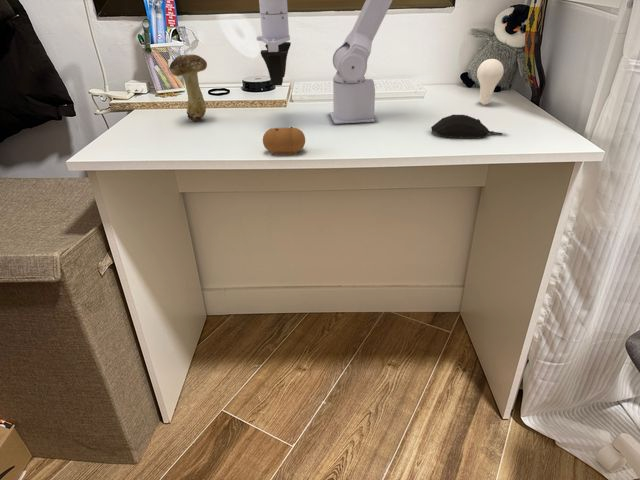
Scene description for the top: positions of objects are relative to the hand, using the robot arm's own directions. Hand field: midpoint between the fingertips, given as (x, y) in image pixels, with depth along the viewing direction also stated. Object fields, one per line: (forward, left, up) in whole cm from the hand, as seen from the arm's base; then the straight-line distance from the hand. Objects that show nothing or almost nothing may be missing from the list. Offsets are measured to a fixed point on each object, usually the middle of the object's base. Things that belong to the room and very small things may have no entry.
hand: (278, 81), depth 98 cm
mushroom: (+20, -5, -10) cm, 23 cm away
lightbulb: (-52, -5, -10) cm, 53 cm away
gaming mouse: (-39, +15, -10) cm, 43 cm away
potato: (0, +19, -9) cm, 21 cm away
